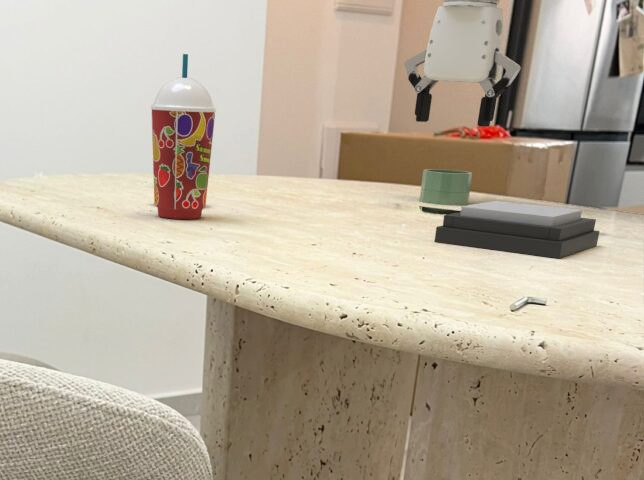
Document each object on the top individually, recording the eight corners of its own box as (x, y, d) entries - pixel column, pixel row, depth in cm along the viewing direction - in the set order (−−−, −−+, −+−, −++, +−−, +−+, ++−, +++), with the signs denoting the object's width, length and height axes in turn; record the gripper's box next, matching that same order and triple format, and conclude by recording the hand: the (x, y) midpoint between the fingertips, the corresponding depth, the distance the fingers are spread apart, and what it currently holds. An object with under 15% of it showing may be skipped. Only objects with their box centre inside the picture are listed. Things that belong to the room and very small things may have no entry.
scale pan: (492, 213, 122) (494, 200, 121) (579, 222, 116) (582, 209, 115) (459, 219, 114) (461, 206, 113) (551, 230, 108) (553, 216, 107)
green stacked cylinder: (430, 207, 150) (435, 168, 147) (473, 212, 146) (479, 172, 143) (410, 211, 144) (415, 170, 142) (455, 216, 140) (461, 174, 138)
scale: (480, 231, 126) (484, 206, 124) (596, 245, 117) (601, 219, 116) (434, 241, 114) (437, 214, 113) (559, 258, 106) (564, 229, 105)
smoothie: (210, 222, 122) (218, 54, 115) (146, 219, 122) (150, 51, 115) (211, 214, 130) (218, 56, 122) (150, 211, 130) (154, 53, 123)
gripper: (540, -1, 132) (517, 128, 139) (425, -1, 142) (409, 120, 148) (521, -7, 127) (499, 128, 133) (403, -6, 136) (388, 119, 142)
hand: (452, 123), depth 140 cm, fingers open, 9 cm apart
